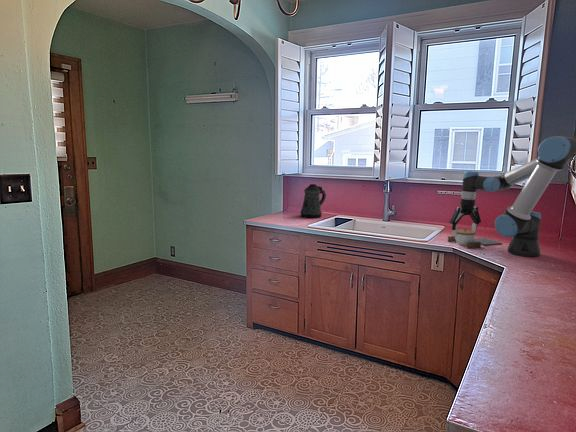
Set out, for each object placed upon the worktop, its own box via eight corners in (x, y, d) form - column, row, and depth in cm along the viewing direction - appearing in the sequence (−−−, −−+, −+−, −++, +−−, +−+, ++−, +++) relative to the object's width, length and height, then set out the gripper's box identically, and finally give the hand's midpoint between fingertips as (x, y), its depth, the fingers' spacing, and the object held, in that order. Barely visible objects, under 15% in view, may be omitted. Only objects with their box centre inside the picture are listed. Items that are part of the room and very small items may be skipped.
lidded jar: (470, 242, 234) (471, 227, 232) (476, 247, 224) (478, 230, 222) (451, 241, 235) (452, 226, 233) (456, 246, 225) (458, 230, 223)
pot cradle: (480, 247, 223) (480, 242, 222) (468, 248, 220) (469, 243, 220) (458, 240, 239) (459, 235, 238) (447, 241, 236) (448, 236, 236)
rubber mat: (501, 244, 231) (502, 243, 231) (484, 245, 227) (484, 244, 227) (484, 239, 243) (484, 237, 243) (467, 240, 239) (467, 239, 239)
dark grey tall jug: (296, 216, 307) (296, 184, 303) (310, 213, 323) (311, 182, 318) (314, 219, 298) (315, 186, 293) (327, 216, 313) (328, 184, 308)
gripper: (480, 197, 232) (476, 232, 236) (445, 198, 224) (441, 234, 228) (490, 199, 225) (486, 235, 229) (454, 200, 217) (450, 237, 221)
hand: (463, 235), depth 229 cm, fingers open, 13 cm apart
